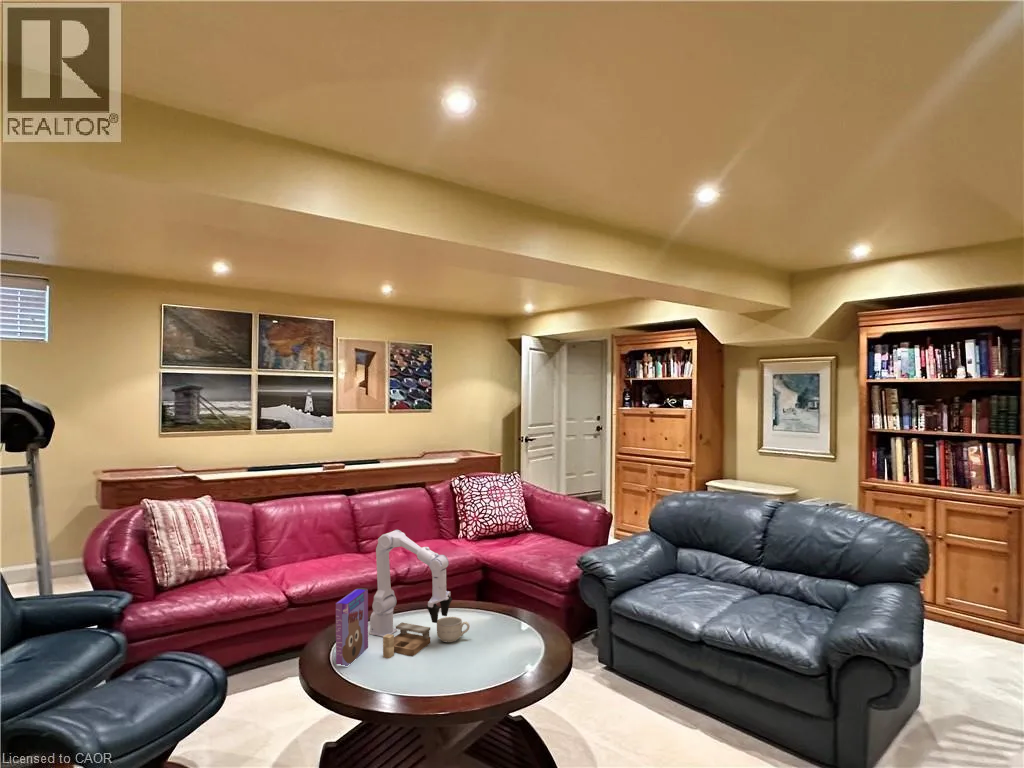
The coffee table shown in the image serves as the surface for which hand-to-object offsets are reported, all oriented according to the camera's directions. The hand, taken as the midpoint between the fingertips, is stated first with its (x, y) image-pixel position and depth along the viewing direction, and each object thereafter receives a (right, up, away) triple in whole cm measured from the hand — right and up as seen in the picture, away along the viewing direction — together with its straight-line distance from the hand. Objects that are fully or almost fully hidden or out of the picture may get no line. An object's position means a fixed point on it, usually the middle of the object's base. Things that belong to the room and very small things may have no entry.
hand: (439, 619), depth 237 cm
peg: (-19, -10, -11) cm, 24 cm away
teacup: (+5, -10, +3) cm, 12 cm away
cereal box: (-33, -10, -11) cm, 36 cm away
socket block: (-13, -10, -3) cm, 17 cm away
